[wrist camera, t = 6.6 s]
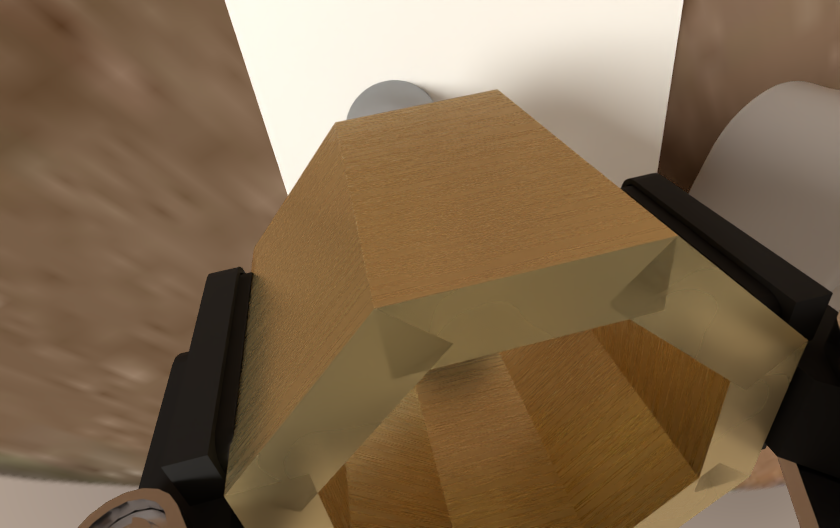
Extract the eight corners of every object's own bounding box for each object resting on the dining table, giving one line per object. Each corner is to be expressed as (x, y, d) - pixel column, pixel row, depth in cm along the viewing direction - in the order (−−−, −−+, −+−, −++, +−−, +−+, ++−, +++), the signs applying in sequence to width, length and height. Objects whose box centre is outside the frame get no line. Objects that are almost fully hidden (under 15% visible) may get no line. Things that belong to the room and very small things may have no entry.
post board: (674, -102, 16) (909, -114, 10) (625, 277, 24) (732, 396, 18) (224, -23, 15) (170, 18, 9) (340, 345, 23) (355, 495, 17)
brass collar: (606, 66, 9) (874, 188, 5) (585, 344, 13) (722, 541, 9) (213, 146, 8) (137, 365, 4) (318, 413, 12) (331, 658, 8)
